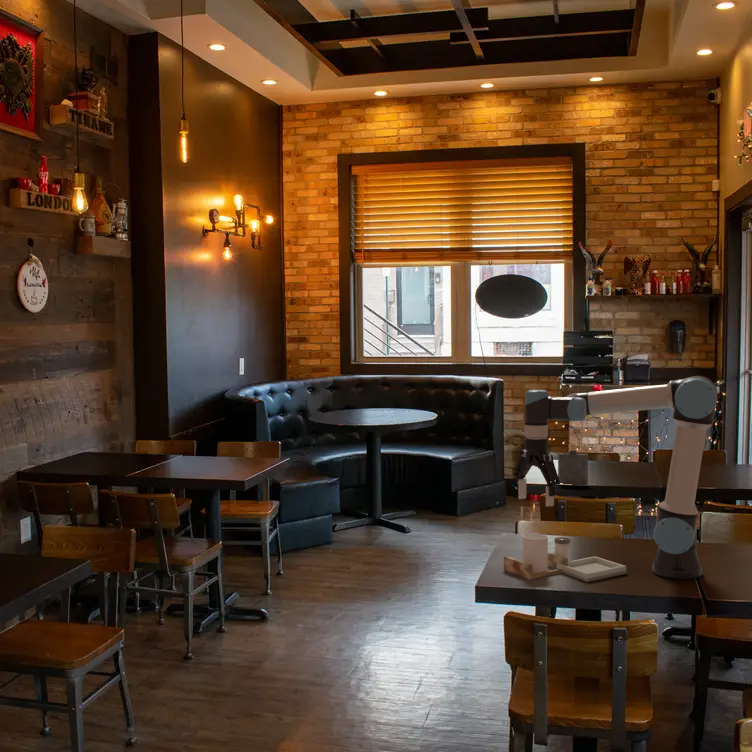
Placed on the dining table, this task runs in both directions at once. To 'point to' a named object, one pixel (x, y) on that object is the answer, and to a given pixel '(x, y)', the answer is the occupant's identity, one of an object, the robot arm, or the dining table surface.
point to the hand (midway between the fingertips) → (535, 502)
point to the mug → (536, 551)
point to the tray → (592, 568)
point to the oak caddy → (526, 569)
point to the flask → (573, 468)
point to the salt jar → (562, 547)
